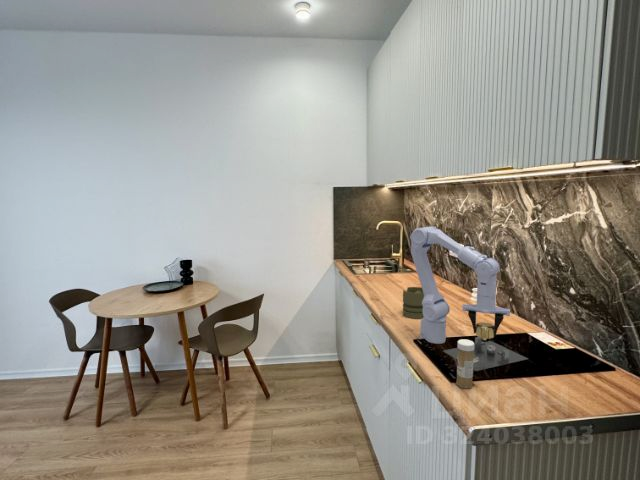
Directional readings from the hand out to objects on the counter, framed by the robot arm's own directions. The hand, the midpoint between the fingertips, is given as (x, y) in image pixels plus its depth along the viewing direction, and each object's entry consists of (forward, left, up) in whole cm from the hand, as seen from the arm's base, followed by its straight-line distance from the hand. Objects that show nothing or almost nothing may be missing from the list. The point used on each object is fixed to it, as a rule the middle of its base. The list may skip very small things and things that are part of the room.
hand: (484, 333), depth 124 cm
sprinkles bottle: (+12, -19, -9) cm, 24 cm away
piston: (-46, +4, -9) cm, 47 cm away
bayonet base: (0, 0, -9) cm, 9 cm away
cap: (0, 0, -1) cm, 1 cm away
